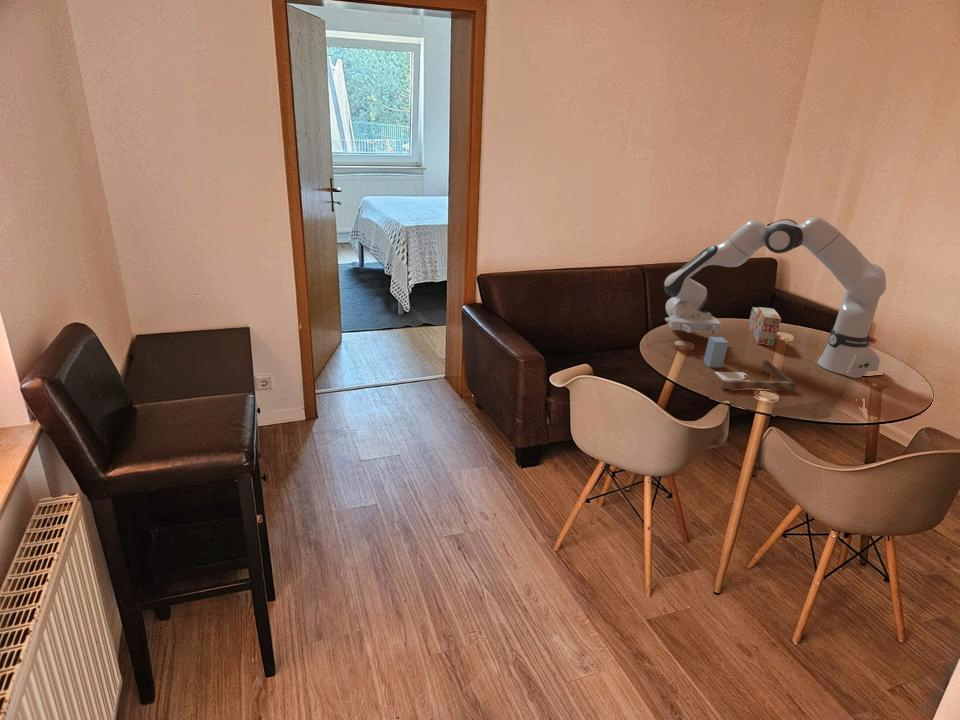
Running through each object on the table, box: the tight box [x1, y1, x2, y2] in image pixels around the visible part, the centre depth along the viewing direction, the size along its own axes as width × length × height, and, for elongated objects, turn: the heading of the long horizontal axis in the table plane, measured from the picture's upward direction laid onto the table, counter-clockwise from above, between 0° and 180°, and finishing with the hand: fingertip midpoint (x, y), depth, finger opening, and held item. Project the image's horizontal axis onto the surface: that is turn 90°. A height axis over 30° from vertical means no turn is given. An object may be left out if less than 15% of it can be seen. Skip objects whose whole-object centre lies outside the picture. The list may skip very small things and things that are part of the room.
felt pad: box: [714, 371, 747, 381], centre depth 212 cm, size 11×11×1 cm
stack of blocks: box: [747, 306, 782, 346], centre depth 252 cm, size 21×6×12 cm, turn 168°
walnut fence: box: [720, 359, 797, 392], centre depth 212 cm, size 26×19×3 cm
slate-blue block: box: [703, 336, 729, 368], centre depth 221 cm, size 5×5×10 cm
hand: (702, 331), depth 230 cm, fingers open, 8 cm apart
